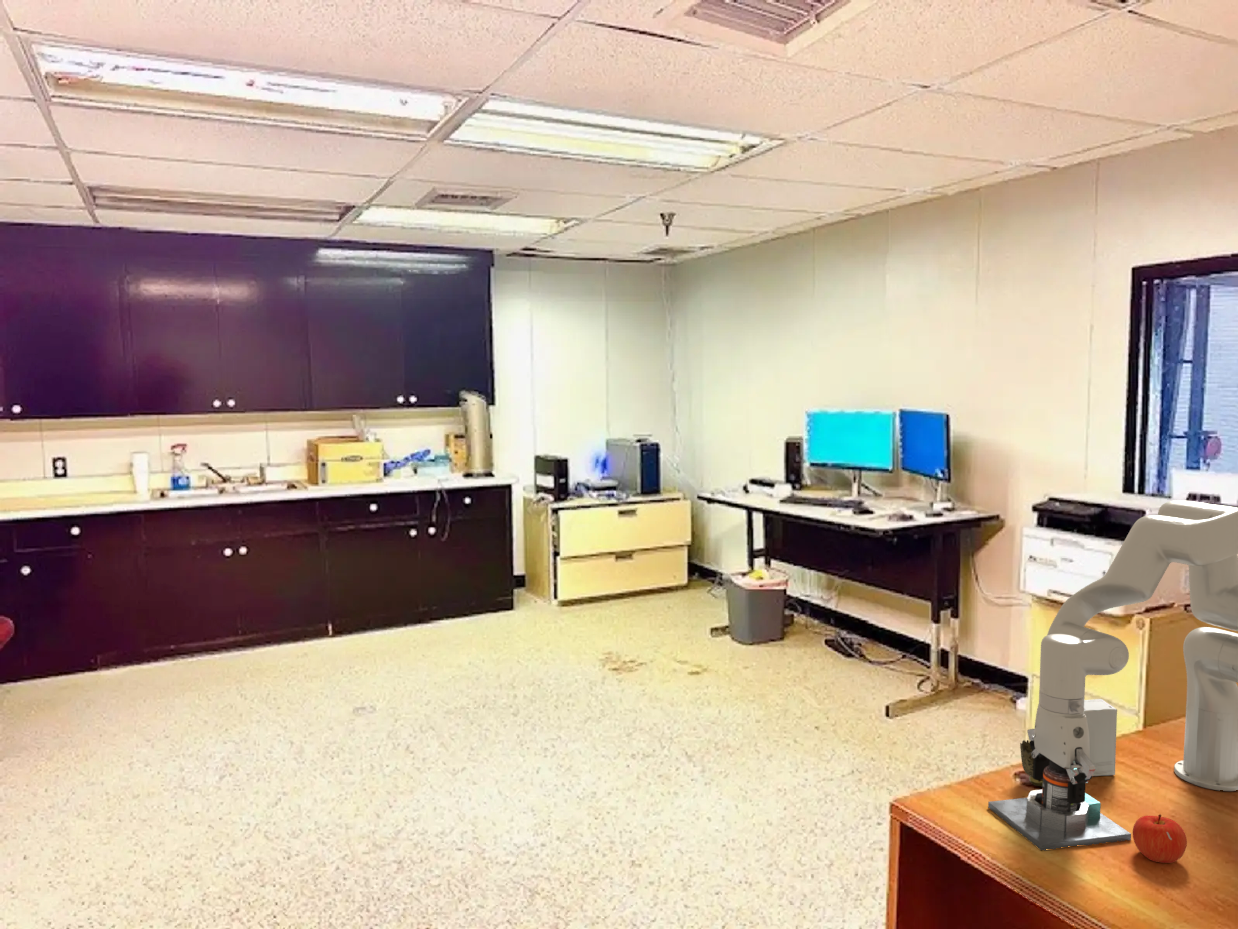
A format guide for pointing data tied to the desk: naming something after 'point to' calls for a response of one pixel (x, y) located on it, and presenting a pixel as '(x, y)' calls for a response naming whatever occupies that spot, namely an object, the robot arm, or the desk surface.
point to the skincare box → (1101, 735)
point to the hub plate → (1056, 836)
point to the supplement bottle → (1056, 788)
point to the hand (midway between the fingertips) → (1058, 790)
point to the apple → (1159, 838)
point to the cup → (1028, 762)
